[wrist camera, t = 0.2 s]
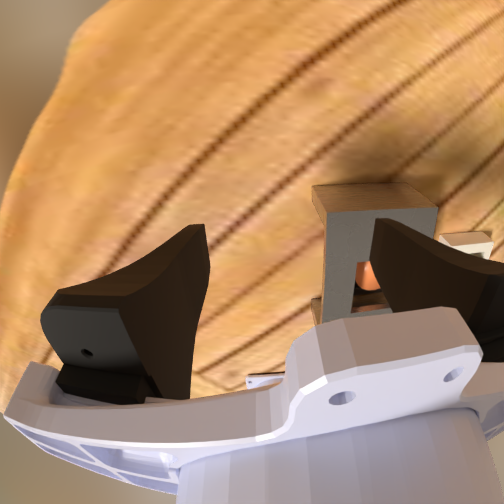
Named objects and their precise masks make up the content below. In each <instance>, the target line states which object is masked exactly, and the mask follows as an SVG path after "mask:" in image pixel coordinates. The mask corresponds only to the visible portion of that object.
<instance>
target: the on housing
mask: <svg viewBox="0 0 504 504" xmlns="http://www.w3.org/2000/svg"><path fill="white" fill-rule="evenodd" d="M438 242H441V243H443V244H445V245H447V246H449V247H452V248H455V249H457V250H460V251H462V252H465V253H468V254H470V253H473V254H474V255H475V256H477V257H480V258H484V259H488V260H489V257H490V254H491V250H492V247H493V244H494V241H492V240H491V239H490V238H489V237H488V236H487V235H486V234H485V233H483V232H482V231H478V232H465V233H452V234H440V236H439V241H438Z"/></svg>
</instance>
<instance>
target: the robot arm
mask: <svg viewBox="0 0 504 504" xmlns="http://www.w3.org/2000/svg"><path fill="white" fill-rule="evenodd" d="M369 261H370V264H371V267H372V270H373V273H374V275H375V278H376V280H377V282H378V284H379V286H380V288H381V290H382V292H383V294H384V296H385V298H386V300H387V302H388V304H389V306H390V308H391V310H392V312H393V313H390V314H382V315H373V316H363V317H353V318H342V319H338V320H334V321H330V322H326V323H323V324H319V325H316V326H314V327H313V328H311V329H310V330H308V331H307V332H305V333H304V334H303V335H301V336H300V337H298V338H297V339H295V340H294V341H293V343H292V345H291V348H290V350H289V352H288V354H287V356H286V364H285V373H280V374H265V375H248V376H246V384H247V390H242V391H237V392H231V393H226V394H220V395H214V396H207V397H201V398H194V399H190V387H191V372H192V362H193V352H194V344H195V336H196V331H197V326H198V322H199V318H200V314H201V310H202V307H203V303H204V299H205V295H206V292H207V288H208V283H209V274H210V260H209V253H208V246H207V240H206V233H205V225H204V224H193V225H188V226H187V227H185V228H184V229H182V230H181V231H180V232H178V233H177V234H176V235H174V236H173V237H172V238H170V239H169V240H168V241H166V242H165V243H164V244H162V245H161V246H159V247H158V248H156V249H155V250H153V251H152V252H150V253H149V254H147V255H146V256H144V257H143V258H141V259H139V260H137V261H136V262H134V263H132V264H130V265H128V266H126V267H124V268H122V269H119V270H117V271H115V272H113V273H111V274H108V275H106V276H103V277H101V278H98V279H95V280H92V281H89V282H86V283H82V284H79V285H75V286H71V287H67V288H63V289H58V290H57V292H56V293H55V295H54V296H53V297H52V299H51V300H50V302H49V303H48V304H47V306H46V307H45V308H44V310H43V312H42V313H41V319H40V322H41V326H42V330H43V332H44V334H45V336H46V338H47V340H48V341H49V343H50V344H51V346H52V347H53V349H54V350H55V352H56V353H57V355H58V356H59V358H60V359H61V361H62V362H63V363H64V365H63V367H62V369H61V371H59V370H57V369H56V368H54V367H52V366H49V365H45V364H41V363H37V362H33V361H32V362H30V363H29V365H28V367H27V368H26V370H25V372H24V374H23V376H22V378H21V380H20V382H19V383H18V385H17V387H16V389H15V391H14V393H13V395H12V397H11V399H10V402H9V404H8V406H7V408H6V410H5V412H4V414H3V416H4V418H5V419H6V420H7V421H8V422H9V423H10V424H11V425H13V426H14V427H15V428H16V429H17V430H18V431H20V432H21V433H22V434H23V435H24V436H25V437H27V438H28V439H29V440H31V441H32V442H33V443H34V444H36V445H37V446H38V447H40V448H41V449H42V450H44V451H45V452H47V453H49V454H51V455H53V456H56V457H58V458H61V459H63V460H66V461H68V462H70V463H73V464H76V465H78V466H80V467H83V468H86V469H88V470H91V471H93V472H96V473H99V474H102V475H105V476H108V477H111V478H114V479H117V480H120V481H123V482H127V483H130V484H133V485H137V486H140V487H144V488H148V489H152V490H156V491H160V492H165V493H170V494H175V495H177V499H176V504H504V497H503V493H502V489H501V485H500V482H499V478H498V474H497V471H496V468H495V464H494V461H493V458H492V455H491V452H490V449H489V446H488V443H487V441H488V440H490V439H491V438H493V437H495V436H496V435H498V434H499V433H501V432H502V431H504V263H501V262H496V261H492V260H488V259H484V258H480V257H477V256H474V255H471V254H468V253H465V252H462V251H460V250H457V249H455V248H452V247H449V246H447V245H445V244H443V243H441V242H438V241H436V240H434V239H432V238H430V237H428V236H426V235H424V234H422V233H420V232H418V231H416V230H414V229H412V228H410V227H408V226H406V225H404V224H402V223H400V222H398V221H395V220H393V219H390V218H375V225H374V232H373V238H372V244H371V250H370V256H369Z"/></svg>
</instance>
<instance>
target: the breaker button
mask: <svg viewBox="0 0 504 504" xmlns="http://www.w3.org/2000/svg"><path fill="white" fill-rule="evenodd" d="M355 280H356V282H357V284H358V286H359V287H361V288H362V289H365V290H376V289H379V288H380V286H379V284H378V282H377V280H376V278H375V275H374V273H373V270H372V267H371V264H370V261H367V262H357V268H356V277H355Z"/></svg>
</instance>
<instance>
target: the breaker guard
mask: <svg viewBox="0 0 504 504" xmlns="http://www.w3.org/2000/svg"><path fill="white" fill-rule="evenodd" d="M312 202H313V204H314V206H315V208H316V210H317V212H318V214H319V216H320V218H321V221H322V223H323V225H324V261H323V284H322V298H318V299H312V302H311V310H312V314H313V319H314V324H315V326H316V325H319V324H323V323H326V322H330V321H334V320H338V319H342V318H353V317H363V316H373V315H382V314H390V313H393V312H392V310H391V308H390V306H389V304H388V302H387V300H386V298H385V296H384V294H383V292H382V290H381V288H379V289H376V290H365V289H362V288H361V287H359V286H358V284H357V282H356V280H355V277H356V268H357V262H367V261H369V256H370V250H371V244H372V238H373V232H374V225H375V218H390V219H393V220H395V221H398V222H400V223H402V224H404V225H406V226H408V227H410V228H412V229H414V230H416V231H418V232H420V233H422V234H424V235H426V236H428V237H430V238H432V239H433V236H434V230H435V225H436V220H437V214H438V208H439V207H437V206H436V205H435V204H434V203H432V202H431V201H430V200H429V199H427V198H426V197H425V196H423V195H422V194H421V193H420V192H418V191H417V190H416V189H414V188H413V187H412V186H410V185H409V184H408V183H371V184H342V185H322V186H312Z"/></svg>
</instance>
